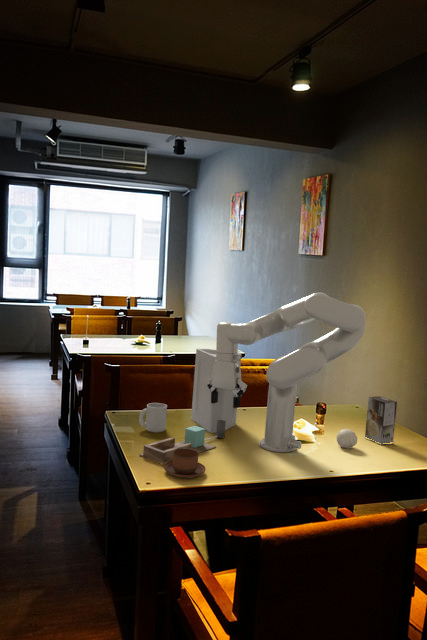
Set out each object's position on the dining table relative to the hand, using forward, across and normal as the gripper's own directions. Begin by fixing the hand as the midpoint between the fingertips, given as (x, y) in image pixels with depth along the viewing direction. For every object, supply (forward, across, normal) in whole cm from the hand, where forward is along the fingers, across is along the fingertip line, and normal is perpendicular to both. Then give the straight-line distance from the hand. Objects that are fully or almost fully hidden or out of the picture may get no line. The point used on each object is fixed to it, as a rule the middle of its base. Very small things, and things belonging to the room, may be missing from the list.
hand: (225, 405), depth 192 cm
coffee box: (+15, -40, -44) cm, 61 cm away
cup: (+11, +23, +13) cm, 29 cm away
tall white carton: (+12, +12, -12) cm, 21 cm away
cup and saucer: (+12, -12, +35) cm, 39 cm away
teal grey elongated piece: (+11, +1, +8) cm, 14 cm away
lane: (+12, +1, +23) cm, 25 cm away
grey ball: (+14, -34, -26) cm, 46 cm away
